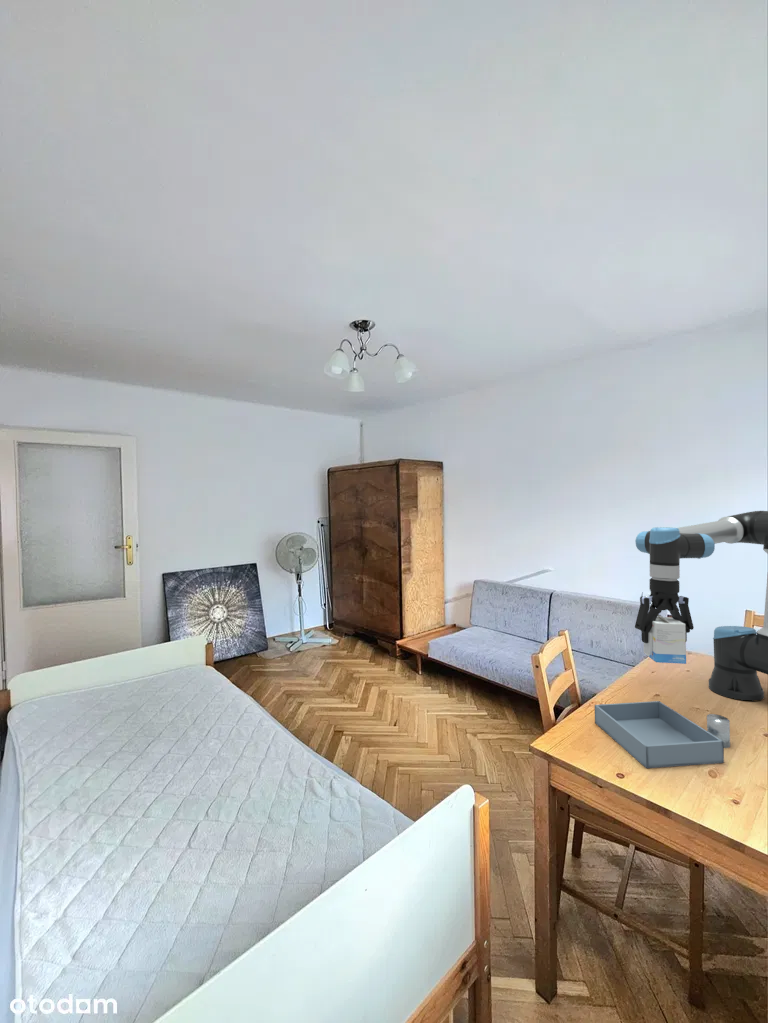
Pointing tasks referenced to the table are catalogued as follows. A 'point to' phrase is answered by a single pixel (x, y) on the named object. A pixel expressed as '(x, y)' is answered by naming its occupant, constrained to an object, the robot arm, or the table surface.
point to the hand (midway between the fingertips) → (664, 653)
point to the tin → (719, 728)
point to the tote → (658, 735)
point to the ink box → (668, 640)
